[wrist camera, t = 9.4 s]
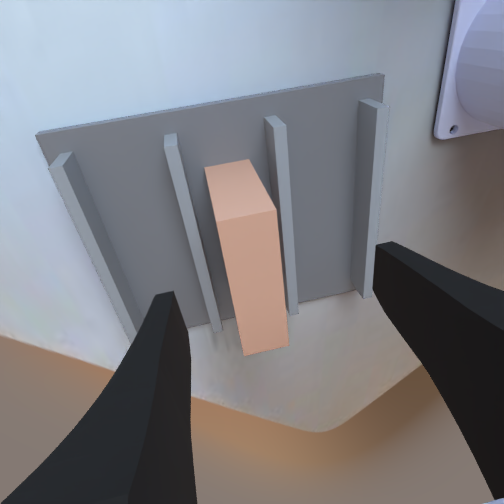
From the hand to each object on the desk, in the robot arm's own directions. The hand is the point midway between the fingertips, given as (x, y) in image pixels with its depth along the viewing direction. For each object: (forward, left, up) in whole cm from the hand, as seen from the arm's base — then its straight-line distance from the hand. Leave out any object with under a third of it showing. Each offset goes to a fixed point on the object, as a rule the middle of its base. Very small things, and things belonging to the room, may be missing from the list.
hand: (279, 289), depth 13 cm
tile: (+1, +2, -9) cm, 9 cm away
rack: (0, +2, -9) cm, 10 cm away
